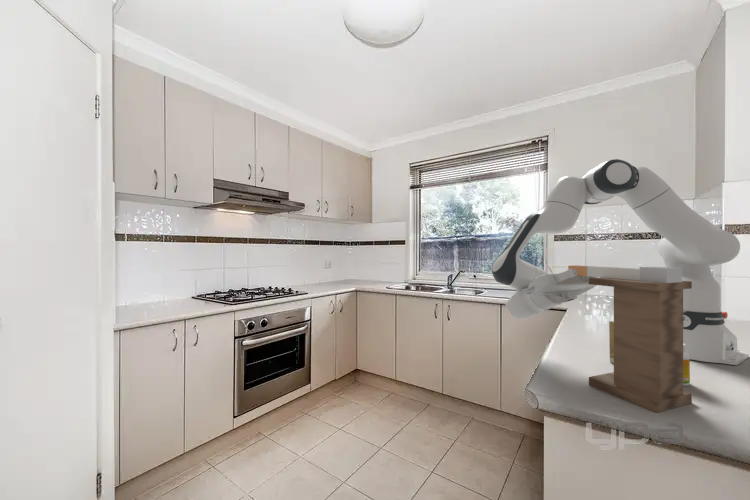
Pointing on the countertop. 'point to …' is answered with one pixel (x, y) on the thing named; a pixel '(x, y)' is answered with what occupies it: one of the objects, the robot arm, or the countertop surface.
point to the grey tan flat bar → (632, 273)
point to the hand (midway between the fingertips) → (587, 270)
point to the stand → (646, 344)
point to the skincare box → (611, 340)
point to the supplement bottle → (686, 367)
